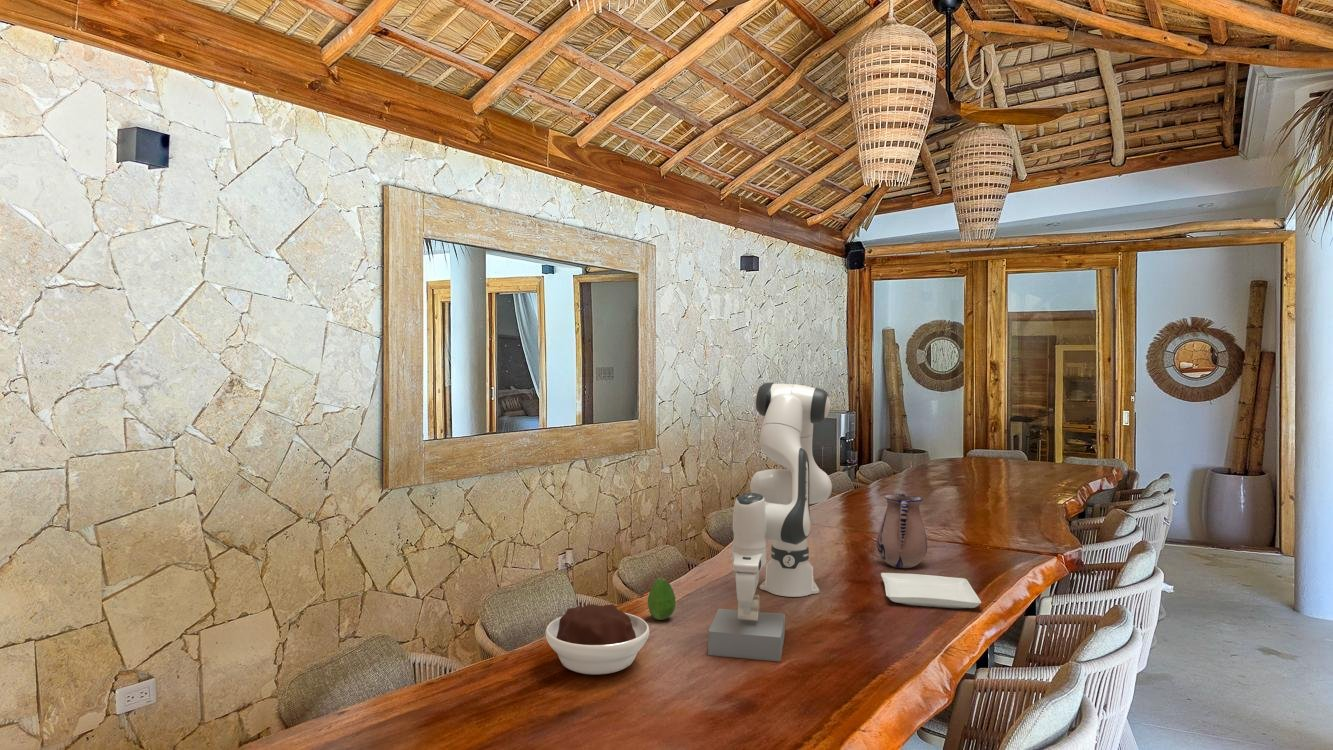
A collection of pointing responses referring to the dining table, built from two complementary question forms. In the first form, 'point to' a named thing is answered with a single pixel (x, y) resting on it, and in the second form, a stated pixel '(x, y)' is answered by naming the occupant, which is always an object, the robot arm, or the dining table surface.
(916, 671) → the dining table surface
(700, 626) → the dining table surface
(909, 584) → the square plate
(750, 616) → the cream cube
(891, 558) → the ceramic pitcher
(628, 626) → the chocolate pudding bowl
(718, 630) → the pedestal
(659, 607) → the avocado
